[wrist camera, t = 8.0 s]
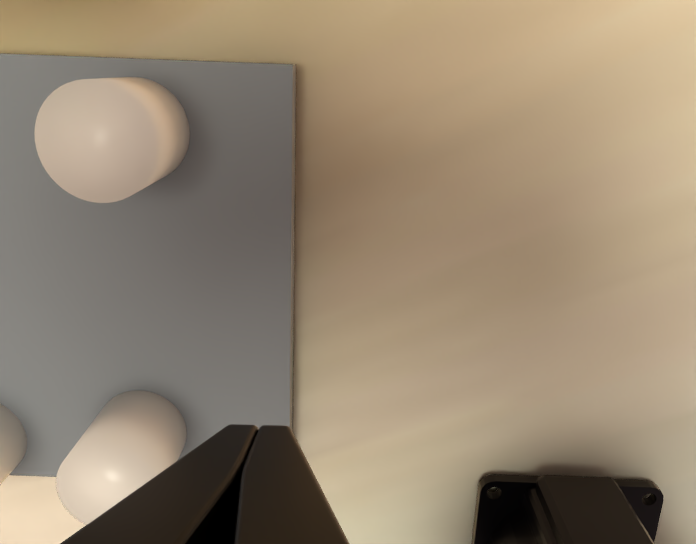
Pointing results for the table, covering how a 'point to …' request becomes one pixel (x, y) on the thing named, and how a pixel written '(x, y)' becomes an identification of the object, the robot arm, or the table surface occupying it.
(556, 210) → the table surface
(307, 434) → the table surface
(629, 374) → the table surface
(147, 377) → the slate board
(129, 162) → the spacers
